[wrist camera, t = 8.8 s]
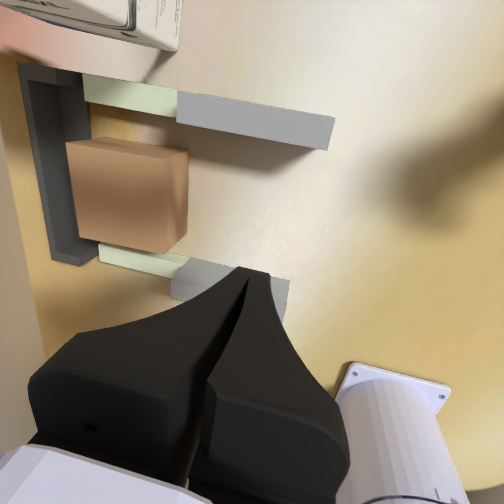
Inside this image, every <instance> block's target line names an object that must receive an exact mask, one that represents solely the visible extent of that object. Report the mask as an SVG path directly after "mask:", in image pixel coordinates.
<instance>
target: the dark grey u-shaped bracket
mask: <svg viewBox="0 0 504 504" xmlns="http://www.w3.org/2000/svg"><path fill="white" fill-rule="evenodd" d="M17 67H18V73H19V79H20V84H21V90H22V95H23V101H24V107H25V112H26V118H27V123H28V129H29V135H30V140H31V146H32V151H33V157H34V163H35V168H36V174H37V179H38V185H39V191H40V196H41V202H42V207H43V213H44V219H45V224H46V230H47V236H48V241H49V247H50V252H51V258H52V260H55V261H59V262H63V263H67V264H71V265H75V266H79V267H81V266H82V265H84V264H85V263H87V262H88V261H90V260H91V259H93V258H94V257H96V256H97V255H99V247H98V244H100V241H96V240H91V239H87V238H82V237H80V235H79V229H78V222H77V216H76V209H75V203H74V196H73V190H72V183H71V177H70V170H69V164H68V157H67V151H66V144H65V143H66V142H74V141H81V140H89V139H91V131H90V120H89V109H88V101H85V97H84V86H83V75H82V73H80V72H74V71H68V70H63V69H57V68H52V67H46V66H40V65H33V64H27V63H21V62H17Z"/></svg>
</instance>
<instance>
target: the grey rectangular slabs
mask: <svg viewBox="0 0 504 504" xmlns="http://www.w3.org/2000/svg"><path fill="white" fill-rule="evenodd" d="M176 122H177V123H183V124H188V125H193V126H198V127H204V128H209V129H214V130H220V131H225V132H230V133H236V134H241V135H246V136H252V137H257V138H262V139H268V140H273V141H278V142H284V143H289V144H294V145H300V146H305V147H310V148H316V149H321V150H326V151H327V149H328V145H329V141H330V137H331V133H332V129H333V126H334V122H335V118H333V117H329V116H324V115H318V114H312V113H307V112H301V111H295V110H290V109H284V108H278V107H273V106H267V105H261V104H256V103H250V102H244V101H239V100H233V99H227V98H222V97H216V96H210V95H205V94H199V93H192V92H185V91H178V90H177V117H176ZM234 269H235V268H233V267H228V266H224V265H220V264H215V263H211V262H207V261H203V260H198V259H194V258H189V259H188V260H187V262H186V263H185V264H184V265H183V266H182V268H181V269H180V270H179V271H178V272H177V273H176V275H175V276H174V277H173V278H172V279H171V290H170V298H172V299H176V300H180V301H184V302H186V301H188V300H190V299H192V298H194V297H195V296H197V295H199V294H200V293H202V292H204V291H205V290H207V289H208V288H210V287H211V286H213V285H214V284H215V283H217V282H218V281H220V280H221V279H222V278H224V277H225V276H226V275H228V274H229V273H230V272H231V271H233V270H234ZM270 282H271V290H272V295H273V299H274V303H275V306H276V310H277V313H278V315H279V318H280V321H281V323H282V321H283V317H284V314H285V310H286V304H287V297H288V290H289V282H290V281H288V280H284V279H280V278H275V277H271V280H270Z"/></svg>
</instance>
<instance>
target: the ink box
mask: <svg viewBox="0 0 504 504" xmlns="http://www.w3.org/2000/svg"><path fill="white" fill-rule="evenodd" d="M0 5H2V6H5V7H7V8H10V9H12V10H15V11H18V12H21V13H23V14H26V15H29V16H31V17H34V18H37V19H40V20H42V21H45V22H47V23H50V24H53V25H57V26H61V27H65V28H69V29H73V30H77V31H82V32H86V33H91V34H95V35H100V36H104V37H109V38H113V39H118V40H123V41H127V42H131V43H135V44H139V45H144V46H148V47H153V48H157V49H162V50H167V51H172V52H176V51H177V50H178V45H179V33H180V20H181V10H182V0H0Z"/></svg>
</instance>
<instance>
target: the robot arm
mask: <svg viewBox="0 0 504 504" xmlns="http://www.w3.org/2000/svg"><path fill="white" fill-rule="evenodd" d="M270 280H271V276H270V275H269V273H265V272H261V271H256V270H252V269H248V268H244V267H239V266H238V267H237V268H235V269H234V270H233V271H231V272H230V273H229V274H228V275H226V276H225V277H224V278H222V279H221V280H220V281H218V282H217V283H215V284H214V285H213V286H211V287H210V288H208V289H207V290H205V291H204V292H202V293H200V294H199V295H197V296H195V297H194V298H192V299H190V300H188V301H186V302H184V303H182V304H180V305H178V306H176V307H174V308H171V309H169V310H166V311H163V312H161V313H158V314H155V315H153V316H150V317H147V318H144V319H141V320H137V321H134V322H130V323H126V324H122V325H118V326H114V327H109V328H104V329H99V330H94V331H89V332H83V333H77V334H76V335H75V336H74V337H73V338H71V339H70V340H69V341H68V342H67V343H66V344H64V345H63V346H62V347H61V348H60V349H59V350H58V351H57V352H56V353H55V354H54V355H53V356H52V357H51V358H50V359H49V360H48V361H47V362H46V363H45V364H44V365H43V366H41V367H40V368H39V369H38V370H37V371H36V372H35V373H34V374H33V375H32V376H31V377H30V380H29V383H28V396H29V401H30V405H31V408H32V412H33V415H34V419H35V422H36V426H37V429H38V432H37V433H36V434H35V435H34V436H33V438H32V439H31V440H30V441H29V442H28V443H27V445H24V446H21V447H19V448H16V449H14V450H12V451H9V452H7V453H6V452H3V451H0V504H335V495H336V497H337V504H470V503H469V500H468V498H467V495H466V493H465V490H464V488H463V485H462V483H461V480H460V478H459V475H458V473H457V470H456V468H455V465H454V463H453V460H452V458H451V455H450V453H449V450H448V448H447V445H446V443H445V440H444V438H443V435H442V433H441V430H440V428H439V425H438V422H437V420H436V417H435V416H436V414H437V413H438V411H439V410H440V409H441V407H442V406H443V404H444V403H445V401H446V400H447V399H448V397H449V396H450V394H451V390H450V388H449V387H448V386H447V385H443V384H439V383H435V382H432V381H428V380H424V379H420V378H416V377H412V376H408V375H404V374H400V373H396V372H392V371H388V370H385V369H381V368H377V367H373V366H369V365H365V364H361V363H356V362H354V363H351V364H350V366H349V368H348V370H347V373H346V375H345V377H344V380H343V382H342V384H341V387H340V389H339V391H338V393H337V396H336V398H335V400H334V399H333V398H332V397H331V396H330V395H329V394H328V393H327V391H326V390H325V389H324V388H323V387H322V386H321V385H320V384H319V383H318V382H317V380H316V379H315V378H314V377H313V375H312V374H311V373H310V371H309V370H308V369H307V367H306V366H305V364H304V363H303V361H302V360H301V358H300V357H299V355H298V354H297V352H296V351H295V349H294V347H293V346H292V344H291V342H290V340H289V338H288V336H287V334H286V332H285V330H284V328H283V326H282V323H281V321H280V318H279V315H278V313H277V310H276V306H275V303H274V299H273V295H272V290H271V282H270ZM352 372H356V373H352ZM198 442H199V444H198ZM197 445H198V447H197ZM196 448H197V450H196ZM195 452H196V453H195ZM194 455H195V456H194ZM193 458H194V459H193ZM192 461H193V462H192ZM187 478H189V487H188V490H186V489H184V487H185V484H186V481H187Z"/></svg>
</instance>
